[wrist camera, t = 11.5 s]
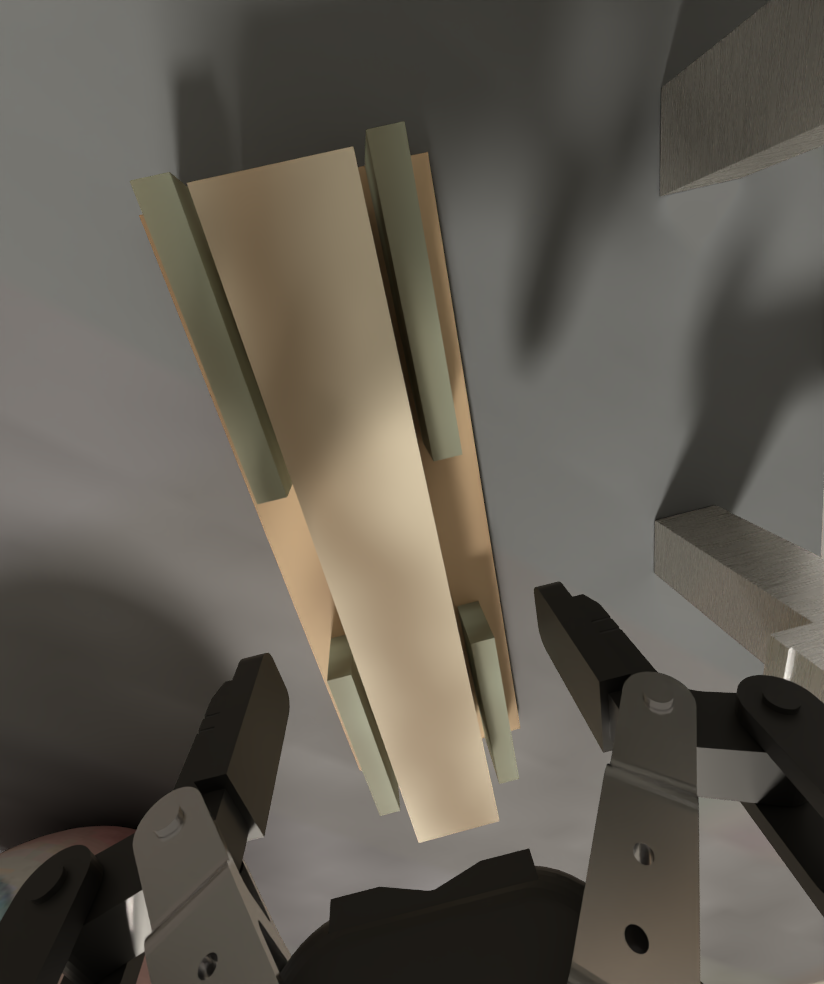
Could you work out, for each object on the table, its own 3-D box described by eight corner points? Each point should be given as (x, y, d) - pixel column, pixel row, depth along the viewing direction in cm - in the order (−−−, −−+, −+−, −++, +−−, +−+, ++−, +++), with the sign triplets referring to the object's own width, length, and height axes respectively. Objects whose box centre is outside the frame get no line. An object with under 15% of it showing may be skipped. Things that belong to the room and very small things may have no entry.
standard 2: (749, 490, 20) (1174, 666, 9) (743, 555, 21) (1107, 769, 11) (620, 523, 19) (909, 738, 9) (621, 586, 21) (875, 834, 11)
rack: (424, 159, 13) (443, 112, 10) (516, 718, 23) (538, 773, 20) (148, 219, 13) (89, 189, 10) (359, 759, 23) (360, 821, 20)
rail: (355, 205, 13) (353, 145, 9) (472, 727, 22) (499, 821, 18) (243, 230, 13) (186, 183, 9) (407, 744, 22) (418, 842, 18)
